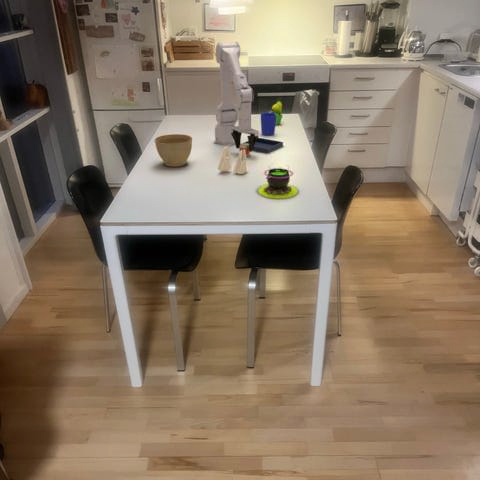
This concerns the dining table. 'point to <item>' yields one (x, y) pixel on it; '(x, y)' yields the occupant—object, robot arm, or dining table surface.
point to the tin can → (245, 148)
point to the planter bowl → (174, 148)
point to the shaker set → (226, 162)
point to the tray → (266, 145)
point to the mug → (268, 123)
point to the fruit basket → (277, 112)
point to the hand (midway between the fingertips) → (244, 149)
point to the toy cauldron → (278, 184)
